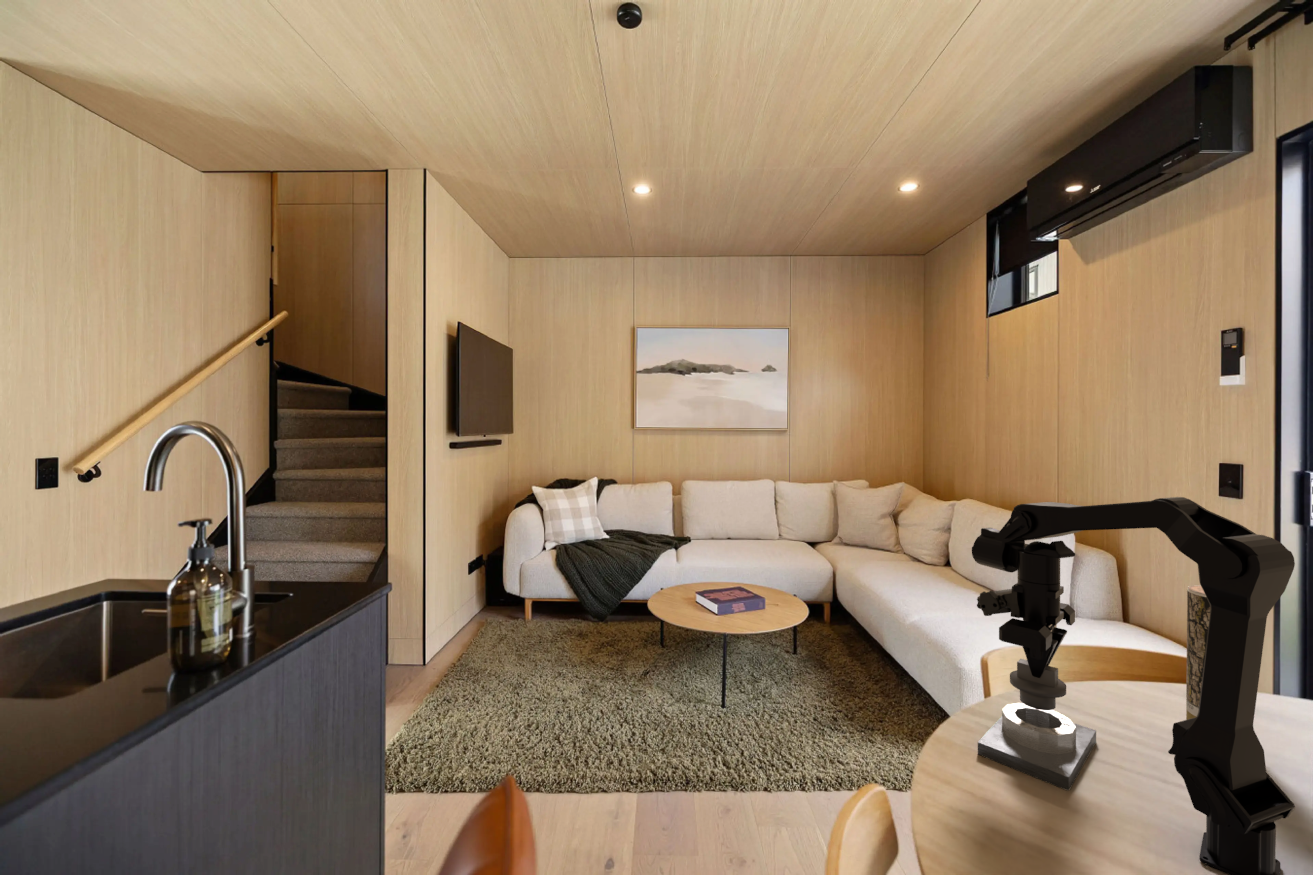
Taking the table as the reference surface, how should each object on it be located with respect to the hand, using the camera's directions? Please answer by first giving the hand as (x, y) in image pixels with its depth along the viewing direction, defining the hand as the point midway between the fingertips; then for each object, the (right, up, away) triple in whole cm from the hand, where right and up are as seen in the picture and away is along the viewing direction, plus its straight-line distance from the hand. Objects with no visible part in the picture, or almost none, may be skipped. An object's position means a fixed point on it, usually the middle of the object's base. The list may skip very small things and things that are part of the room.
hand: (1038, 674), depth 90 cm
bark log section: (+31, -12, +2) cm, 33 cm away
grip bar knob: (0, -5, 0) cm, 5 cm away
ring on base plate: (0, -12, 0) cm, 12 cm away
